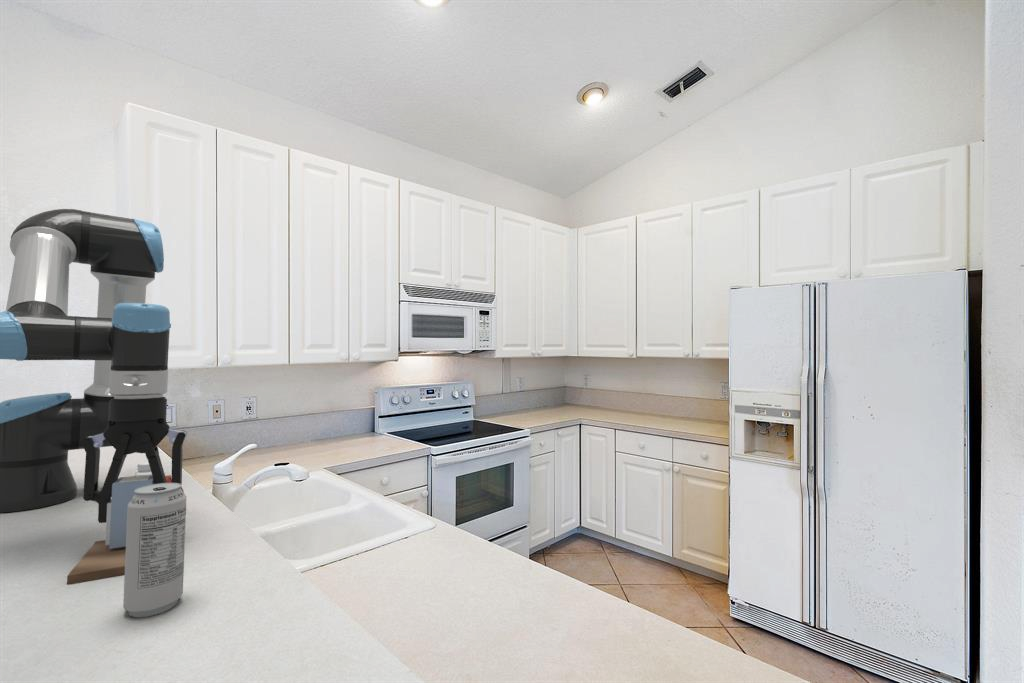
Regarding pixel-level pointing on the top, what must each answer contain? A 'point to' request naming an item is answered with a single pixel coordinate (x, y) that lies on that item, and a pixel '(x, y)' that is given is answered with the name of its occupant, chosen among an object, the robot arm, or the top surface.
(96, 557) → the board
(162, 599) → the energy drink can
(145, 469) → the pill bottle
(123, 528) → the block
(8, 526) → the top surface
